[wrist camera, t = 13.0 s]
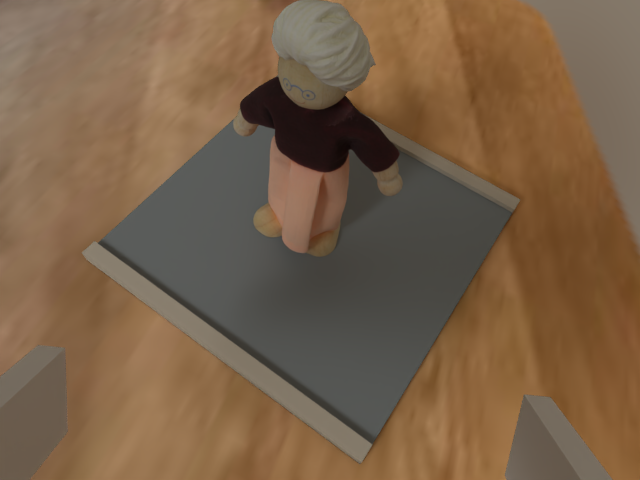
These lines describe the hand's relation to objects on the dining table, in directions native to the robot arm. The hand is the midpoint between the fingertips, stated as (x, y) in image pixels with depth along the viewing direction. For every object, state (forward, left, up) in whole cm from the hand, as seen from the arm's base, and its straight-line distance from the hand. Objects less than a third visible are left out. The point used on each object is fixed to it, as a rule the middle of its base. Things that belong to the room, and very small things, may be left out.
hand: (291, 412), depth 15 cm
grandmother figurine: (-6, +9, -7) cm, 13 cm away
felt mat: (-5, +9, -8) cm, 13 cm away
